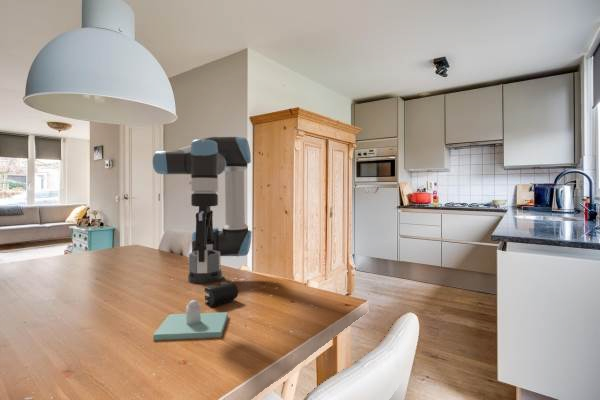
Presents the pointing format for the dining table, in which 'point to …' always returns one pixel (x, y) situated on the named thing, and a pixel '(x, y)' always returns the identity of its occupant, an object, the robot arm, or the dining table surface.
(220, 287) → the end cap
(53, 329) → the dining table surface
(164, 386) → the dining table surface
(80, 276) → the dining table surface
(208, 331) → the post stand
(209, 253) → the collar
